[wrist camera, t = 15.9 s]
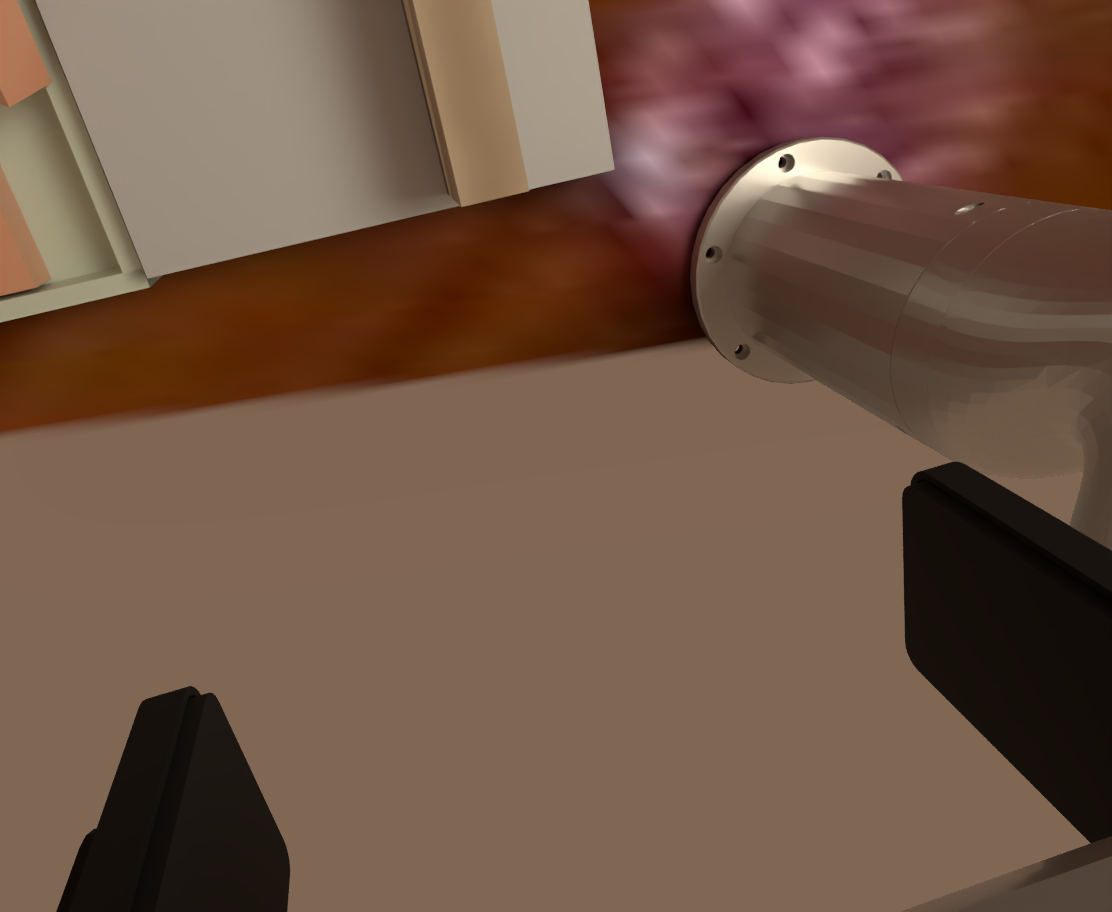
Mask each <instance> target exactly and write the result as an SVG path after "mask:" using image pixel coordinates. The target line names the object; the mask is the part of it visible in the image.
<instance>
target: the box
mask: <svg viewBox="0 0 1112 912" xmlns="http://www.w3.org/2000/svg"><path fill="white" fill-rule="evenodd" d="M17 2H18V5H19V7H20V9H21V11H22V14H23V16H24V18H25V21H26V23H27V25H28V28H29V30H30V32H31V35H32V37H33V39H34V42H35V44H36V46H37V49H38V51H39V53H40V55H41V58H42V60H43V62H44V65H45V67H46V69H47V72H48V74H49V76H50V79H51V81H52V83H50V84H48V85H47V86H45V87H43V88H42V89H40V90H38V91H37V92H35V93H33V94H32V95H30V96H28V97H26V98H25V99H23V100H21V101H20V102H18V103H16V104H15V105H13V106H11V107H10V108H9V107H7V106H4V105H2V104H0V165H1V168H2V170H3V172H4V174H5V176H6V179H7V181H8V183H9V185H10V187H11V190H12V192H13V194H14V196H15V199H16V201H17V203H18V205H19V207H20V210H21V212H22V214H23V216H24V219H25V221H26V223H27V225H28V227H29V230H30V232H31V234H32V236H33V239H34V241H35V243H36V245H37V247H38V250H39V252H40V254H41V256H42V259H43V261H44V263H45V265H46V267H47V270H48V272H49V274H50V276H51V278H52V279H50V280H48V281H47V282H45V283H43V284H42V285H40V286H38V287H37V288H33V289H29V290H24V291H20V292H16V293H11V294H7V295H2V296H0V322H4V321H9V320H13V319H17V318H22V317H26V316H30V315H34V314H39V313H43V312H47V311H51V310H56V309H60V308H64V307H68V306H73V305H77V304H81V303H85V302H90V301H94V300H98V299H103V298H107V297H111V296H115V295H120V294H124V293H128V292H132V291H137V290H141V289H145V288H149V287H151V286H152V285H153V284H154V283H155V282H156V281H157V280H158V279H160V278H161V277H162V276H163V275H161V276H157V277H152V278H148V279H147V276H146V274H145V271H144V269H143V266H142V264H141V261H140V259H139V256H138V254H137V251H136V249H135V246H134V244H133V242H132V239H131V237H130V234H129V232H128V229H127V227H126V224H125V222H124V219H123V217H122V214H121V212H120V209H119V207H118V204H117V202H116V199H115V197H114V194H113V192H112V189H111V187H110V184H109V182H108V180H107V177H106V175H105V172H104V170H103V167H102V165H101V162H100V160H99V157H98V155H97V152H96V150H95V147H94V145H93V142H92V140H91V137H90V135H89V132H88V130H87V127H86V125H85V122H84V120H83V118H82V115H81V113H80V110H79V108H78V105H77V103H76V100H75V98H74V95H73V93H72V90H71V88H70V85H69V83H68V80H67V78H66V75H65V73H64V70H63V68H62V65H61V63H60V60H59V58H58V56H57V53H56V51H55V48H54V46H53V43H52V41H51V38H50V36H49V33H48V31H47V28H46V26H45V23H44V21H43V18H42V16H41V13H40V11H39V8H38V6H37V3H36V1H35V0H17Z"/></svg>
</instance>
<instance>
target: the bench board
mask: <svg viewBox="0 0 1112 912" xmlns="http://www.w3.org/2000/svg"><path fill="white" fill-rule="evenodd" d="M35 1H36V3H37V6H38V8H39V11H40V13H41V16H42V18H43V21H44V23H45V26H46V28H47V31H48V33H49V36H50V38H51V41H52V43H53V46H54V48H55V51H56V53H57V56H58V58H59V60H60V63H61V65H62V68H63V70H64V73H65V75H66V78H67V80H68V83H69V85H70V88H71V90H72V93H73V95H74V98H75V100H76V103H77V105H78V108H79V110H80V113H81V115H82V118H83V120H84V122H85V125H86V127H87V130H88V132H89V135H90V137H91V140H92V142H93V145H94V147H95V150H96V152H97V155H98V157H99V160H100V162H101V165H102V167H103V170H104V172H105V175H106V177H107V180H108V182H109V184H110V187H111V189H112V192H113V194H114V197H115V199H116V202H117V204H118V207H119V209H120V212H121V214H122V217H123V219H124V222H125V224H126V227H127V229H128V232H129V234H130V237H131V239H132V242H133V244H134V246H135V249H136V251H137V254H138V256H139V259H140V261H141V264H142V266H143V269H144V271H145V274H146V276H147V279H148V278H152V277H157V276H161V275H165V274H169V273H174V272H178V271H182V270H187V269H191V268H195V267H199V266H204V265H208V264H212V263H217V262H221V261H225V260H229V259H234V258H238V257H242V256H247V255H251V254H255V253H259V252H264V251H268V250H272V249H277V248H281V247H285V246H289V245H294V244H298V243H302V242H307V241H311V240H315V239H319V238H324V237H328V236H332V235H337V234H341V233H345V232H349V231H354V230H358V229H362V228H367V227H371V226H375V225H379V224H384V223H388V222H392V221H397V220H401V219H405V218H409V217H414V216H418V215H422V214H427V213H431V212H435V211H439V210H444V209H448V208H452V207H457V206H460V205H459V204H458V203H457V202H456V201H455V200H454V199H452V198H451V197H450V196H449V195H448V194H447V190H446V186H445V182H444V177H443V173H442V169H441V165H440V161H439V157H438V153H437V148H436V144H435V140H434V136H433V132H432V128H431V124H430V120H429V115H428V111H427V107H426V103H425V99H424V95H423V91H422V86H421V82H420V78H419V74H418V70H417V66H416V62H415V58H414V53H413V49H412V45H411V41H410V37H409V33H408V29H407V24H406V20H405V16H404V12H403V8H402V4H401V0H35ZM491 3H492V8H493V13H494V18H495V23H496V28H497V33H498V38H499V43H500V48H501V52H502V57H503V62H504V67H505V72H506V77H507V82H508V87H509V92H510V97H511V102H512V107H513V112H514V117H515V122H516V127H517V132H518V137H519V142H520V147H521V152H522V157H523V162H524V167H525V172H526V177H527V182H528V187H529V189H534V188H538V187H542V186H547V185H551V184H555V183H559V182H564V181H568V180H572V179H577V178H581V177H585V176H590V175H594V174H598V173H602V172H607V171H611V170H615V169H614V163H613V156H612V150H611V143H610V137H609V130H608V124H607V118H606V111H605V105H604V98H603V92H602V86H601V79H600V73H599V66H598V60H597V54H596V47H595V41H594V34H593V28H592V22H591V15H590V9H589V2H588V0H491Z"/></svg>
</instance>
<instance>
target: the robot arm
mask: <svg viewBox="0 0 1112 912" xmlns="http://www.w3.org/2000/svg"><path fill="white" fill-rule="evenodd" d="M780 157H781V158H782V164H781V166H779V167H778V162H779V159H780ZM709 248H711V254H710V255H709V256H708V257H706V252H707V250H708V249H709ZM690 284H691V293H692V302H693V305H694V309H695V312H696V315H697V318H698V321H699V324H700V326H701V327H702V329H703V331H704V333H705V335H706V336H707V338H708V340H709V342H710V343H711V344H712V345H713V346H714V347H715V348H716V350H717V351H718V352H719V353H720V354H721V355H722V356H723V357H724V358H726V359H727V360H728V361H729V362H731V363H732V364H733V365H735V366H736V367H738V368H740V369H741V370H743V371H745V372H747V373H749V374H750V375H752V376H754V377H757V378H761V379H764V380H767V381H770V382H780V383H800V382H809V381H814V380H817V381H819V382H821V383H822V384H824V385H826V386H827V387H829V388H831V389H832V390H834V391H836V392H837V393H839V394H841V395H842V396H844V397H846V398H847V399H849V400H851V401H852V402H854V403H856V404H857V405H859V406H861V407H862V408H864V409H866V410H867V411H869V412H871V413H873V414H874V415H876V416H878V417H879V418H881V419H882V420H884V421H886V422H888V423H889V424H891V425H892V426H894V427H896V428H897V429H899V430H901V431H903V432H904V433H906V434H908V435H909V436H911V437H913V438H915V439H917V440H918V441H920V442H921V443H923V444H925V445H927V446H929V447H930V448H932V449H934V450H935V451H937V452H939V453H940V454H942V455H944V456H945V457H948V458H949V459H951V460H953V461H955V462H951V463H947V464H944V465H941V466H938V467H934V468H930V469H927V470H924V471H920V472H917V473H916V474H915V475H914V476H913V478H912V480H911V485H910V486H907V487H906V488H905V489H904V491H903V497H902V509H903V510H902V511H903V558H904V559H903V561H904V606H905V609H904V610H905V644H906V649H907V653H908V655H909V657H910V660H911V661H912V663H913V665H914V666H915V667H916V668H917V670H918V671H919V672H921V674H922V675H923V676H924V677H925V678H926V679H927V680H928V681H929V682H930V683H931V684H932V685H933V686H934V687H935V688H936V689H937V690H938V691H939V692H940V693H941V694H942V695H943V696H944V697H945V698H946V699H947V700H948V701H949V702H950V703H951V704H952V705H953V706H954V707H955V708H956V709H957V710H958V711H959V712H960V713H961V714H962V715H963V716H964V717H965V718H966V719H967V720H968V721H969V722H970V723H971V724H972V725H973V726H974V727H975V728H976V729H977V730H978V731H979V732H980V733H981V734H982V735H983V736H984V737H985V738H986V739H987V740H988V741H989V742H990V743H991V744H992V745H993V746H994V747H995V748H996V749H997V750H998V751H999V752H1000V753H1001V754H1002V755H1003V756H1004V757H1005V758H1006V759H1008V761H1009V762H1010V763H1011V764H1012V765H1013V766H1014V767H1015V768H1016V769H1017V770H1018V771H1019V772H1020V773H1021V774H1022V775H1023V776H1024V777H1025V778H1026V779H1027V780H1028V781H1029V782H1030V783H1031V784H1032V785H1033V786H1034V787H1035V788H1036V789H1037V790H1038V791H1039V792H1040V793H1041V794H1042V795H1043V796H1044V797H1045V798H1046V799H1047V800H1048V801H1049V802H1050V803H1051V804H1052V805H1053V806H1054V807H1055V808H1056V809H1057V810H1058V811H1059V812H1060V813H1061V814H1062V815H1063V816H1064V817H1065V818H1066V819H1067V820H1068V821H1069V822H1070V823H1071V824H1072V825H1073V826H1074V827H1075V828H1076V829H1077V830H1078V831H1079V832H1080V833H1081V834H1082V835H1083V836H1084V837H1085V838H1086V839H1087V840H1088V841H1089V842H1090V843H1091V844H1088V845H1085V846H1082V847H1080V848H1077V849H1074V850H1071V851H1068V852H1066V853H1063V854H1060V855H1057V856H1054V857H1052V858H1049V859H1046V860H1043V861H1040V862H1038V863H1035V864H1032V865H1029V866H1027V867H1024V868H1021V869H1018V870H1015V871H1013V872H1010V873H1007V874H1004V875H1001V876H999V877H996V878H993V879H990V880H988V881H985V882H982V883H979V884H976V885H973V886H971V887H968V888H965V889H962V890H959V891H957V892H954V893H951V894H948V895H945V896H943V897H940V898H937V899H934V900H931V901H929V902H926V903H923V904H920V905H917V906H915V907H912V908H909V909H906V910H904V911H901V912H1112V210H1104V209H1096V208H1089V207H1082V206H1075V205H1068V204H1060V203H1052V202H1045V201H1038V200H1031V199H1025V198H1018V197H1011V196H1004V195H997V194H990V193H983V192H976V191H969V190H962V189H955V188H948V187H941V186H934V185H927V184H920V183H913V182H906V181H904V180H903V178H902V177H901V175H900V174H899V172H898V171H897V169H896V168H895V167H894V166H893V165H891V164H890V163H889V162H888V161H887V160H886V159H885V158H884V157H883V156H882V155H881V154H879V153H877V152H875V151H874V150H872V149H870V148H869V147H867V146H865V145H863V144H860V143H857V142H853V141H850V140H847V139H843V138H833V137H807V138H799V139H796V140H792V141H788V142H785V143H781V144H778V145H776V146H774V147H772V148H770V149H768V150H766V151H764V152H762V153H760V154H758V155H757V156H756V157H754V158H753V159H752V160H750V161H749V162H748V163H747V164H745V165H744V166H743V167H741V168H740V169H739V170H738V171H737V172H736V173H735V174H734V175H733V176H732V177H731V178H730V179H729V180H728V182H727V183H726V184H725V185H724V186H723V187H722V188H721V190H720V191H719V193H718V194H717V196H716V197H715V199H714V200H713V202H712V203H711V205H710V206H709V208H708V210H707V212H706V214H705V216H704V219H703V221H702V223H701V226H700V228H699V230H698V233H697V237H696V241H695V245H694V249H693V253H692V259H691V273H690ZM737 346H739V349H738V350H737V351H735V349H736V347H737ZM977 471H978V472H977ZM1081 471H1083V478H1082V482H1081V487H1080V490H1079V494H1078V497H1077V501H1076V504H1075V508H1074V511H1073V514H1072V518H1071V521H1070V526H1069V525H1067V524H1066V523H1064V522H1062V521H1061V520H1059V519H1057V518H1056V517H1054V516H1052V515H1050V514H1049V513H1047V512H1045V511H1044V510H1042V509H1040V508H1038V507H1037V506H1035V505H1033V504H1032V503H1030V502H1028V501H1027V500H1025V499H1023V498H1022V497H1020V496H1018V495H1017V494H1015V493H1013V492H1011V491H1010V490H1008V489H1006V488H1005V487H1003V486H1001V485H1000V484H998V483H996V482H994V481H993V480H991V479H989V478H988V477H986V476H984V475H982V474H981V473H979V472H982V473H986V474H989V475H994V476H999V477H1009V478H1021V479H1022V478H1023V479H1026V478H1027V479H1028V478H1029V479H1030V478H1043V477H1053V476H1060V475H1066V474H1072V473H1075V472H1081ZM289 879H290V864H289V856H288V852H287V848H286V845H285V842H284V840H283V838H282V835H281V833H280V831H279V829H278V827H277V825H276V823H275V820H274V818H273V816H272V814H271V812H270V810H269V808H268V805H267V803H266V801H265V799H264V797H263V795H262V793H261V791H260V789H259V786H258V784H257V782H256V780H255V778H254V776H253V774H252V771H251V769H250V767H249V765H248V763H247V761H246V758H245V756H244V754H243V752H242V750H241V748H240V746H239V743H238V742H237V739H236V737H235V735H234V733H233V731H232V729H231V726H230V724H229V722H228V720H227V718H226V716H225V714H224V712H223V709H222V707H221V705H220V703H219V701H218V699H217V698H216V696H215V695H214V694H213V693H207V694H203V695H200V693H199V691H198V690H197V689H196V688H194V687H192V686H189V687H186V688H182V689H179V690H175V691H172V692H168V693H165V694H162V695H158V696H155V697H152V698H148V699H145V700H144V701H143V702H142V703H141V704H140V706H139V709H138V711H137V715H136V717H135V720H134V723H133V726H132V729H131V732H130V734H129V737H128V740H127V743H126V746H125V749H124V752H123V754H122V757H121V760H120V763H119V766H118V769H117V772H116V775H115V778H114V780H113V783H112V786H111V789H110V792H109V795H108V798H107V801H106V803H105V807H104V809H103V812H102V815H101V818H100V821H99V824H98V826H97V828H96V829H93V830H92V831H91V832H90V833H89V834H87V835H86V836H85V838H84V840H83V842H82V844H81V846H80V848H79V851H78V854H77V856H76V859H75V862H74V865H73V867H72V870H71V873H70V876H69V879H68V881H67V884H66V887H65V889H64V892H63V895H62V898H61V900H60V903H59V906H58V909H57V912H287V906H288V893H289Z"/></svg>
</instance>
